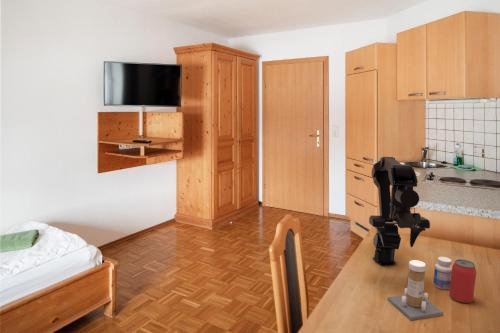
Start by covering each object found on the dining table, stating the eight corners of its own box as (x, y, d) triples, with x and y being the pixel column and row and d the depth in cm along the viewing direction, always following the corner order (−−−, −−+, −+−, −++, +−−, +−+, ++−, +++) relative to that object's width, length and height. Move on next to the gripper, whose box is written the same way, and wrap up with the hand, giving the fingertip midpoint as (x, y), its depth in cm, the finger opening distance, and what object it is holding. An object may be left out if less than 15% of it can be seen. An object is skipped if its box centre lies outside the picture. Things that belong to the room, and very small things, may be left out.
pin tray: (417, 295, 116) (418, 284, 115) (442, 315, 105) (444, 302, 104) (387, 300, 113) (388, 288, 112) (410, 320, 103) (411, 307, 102)
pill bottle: (435, 280, 126) (437, 254, 124) (452, 285, 122) (455, 258, 121) (431, 286, 121) (434, 259, 120) (449, 291, 118) (452, 264, 116)
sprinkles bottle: (415, 299, 112) (419, 258, 109) (425, 307, 107) (429, 265, 105) (402, 300, 111) (406, 260, 108) (412, 308, 106) (415, 266, 104)
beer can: (464, 292, 118) (468, 258, 115) (477, 303, 111) (482, 267, 109) (444, 292, 117) (448, 258, 115) (456, 304, 111) (461, 268, 109)
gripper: (378, 205, 114) (376, 253, 116) (438, 207, 113) (436, 255, 115) (369, 199, 126) (367, 242, 127) (424, 200, 124) (421, 244, 126)
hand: (397, 246), depth 123 cm, fingers open, 9 cm apart
